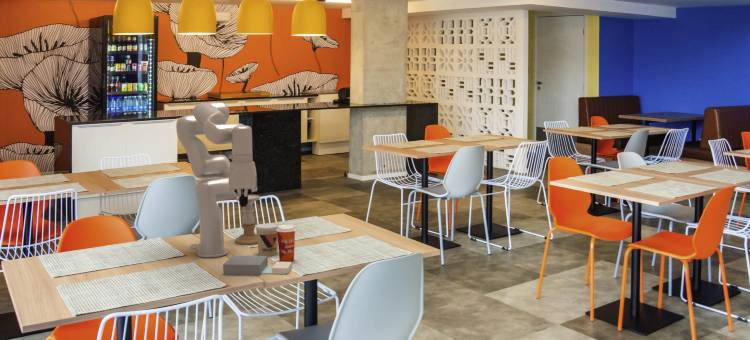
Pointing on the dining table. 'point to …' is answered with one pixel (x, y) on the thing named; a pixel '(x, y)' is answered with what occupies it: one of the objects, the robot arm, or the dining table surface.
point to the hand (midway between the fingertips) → (243, 206)
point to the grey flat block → (245, 265)
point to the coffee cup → (267, 239)
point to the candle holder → (248, 223)
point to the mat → (269, 270)
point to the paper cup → (286, 242)
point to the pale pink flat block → (282, 267)
